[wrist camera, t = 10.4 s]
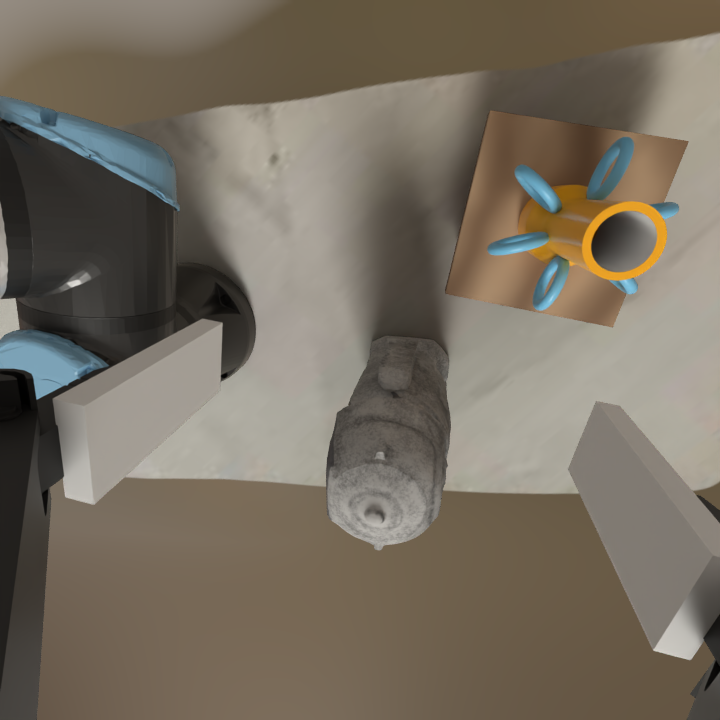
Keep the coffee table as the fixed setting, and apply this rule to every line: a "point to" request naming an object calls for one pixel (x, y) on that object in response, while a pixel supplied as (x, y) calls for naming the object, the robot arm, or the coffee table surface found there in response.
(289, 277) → the coffee table surface
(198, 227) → the coffee table surface
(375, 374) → the figurine
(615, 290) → the small wooden table
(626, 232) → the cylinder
